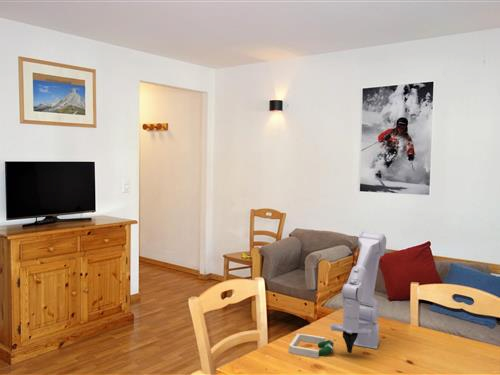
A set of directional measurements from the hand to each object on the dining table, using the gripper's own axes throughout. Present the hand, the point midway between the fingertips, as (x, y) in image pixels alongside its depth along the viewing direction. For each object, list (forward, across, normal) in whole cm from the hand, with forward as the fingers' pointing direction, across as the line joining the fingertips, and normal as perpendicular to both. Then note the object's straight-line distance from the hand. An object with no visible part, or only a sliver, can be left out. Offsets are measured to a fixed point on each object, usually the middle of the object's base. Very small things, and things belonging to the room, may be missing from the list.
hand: (349, 351), depth 168 cm
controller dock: (+1, -15, 0) cm, 15 cm away
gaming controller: (+2, -9, 0) cm, 9 cm away
